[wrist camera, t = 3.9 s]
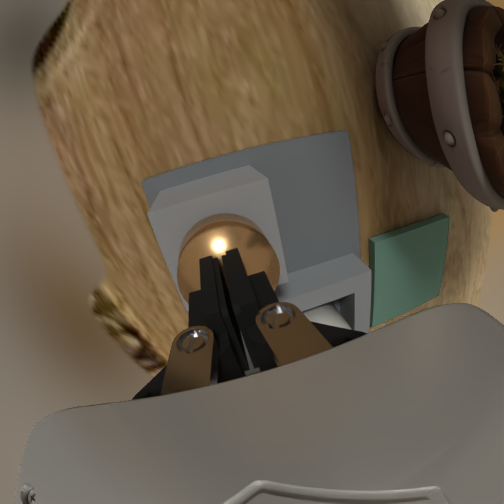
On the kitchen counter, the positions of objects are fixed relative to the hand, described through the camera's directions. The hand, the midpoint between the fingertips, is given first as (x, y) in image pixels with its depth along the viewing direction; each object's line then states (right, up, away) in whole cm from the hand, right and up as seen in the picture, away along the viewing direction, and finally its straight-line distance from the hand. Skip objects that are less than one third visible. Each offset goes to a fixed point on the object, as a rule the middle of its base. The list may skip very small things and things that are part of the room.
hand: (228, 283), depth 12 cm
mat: (+17, 0, +14) cm, 22 cm away
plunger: (-1, +3, +6) cm, 7 cm away
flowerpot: (+15, +15, +6) cm, 22 cm away
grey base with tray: (+3, 0, +11) cm, 11 cm away
